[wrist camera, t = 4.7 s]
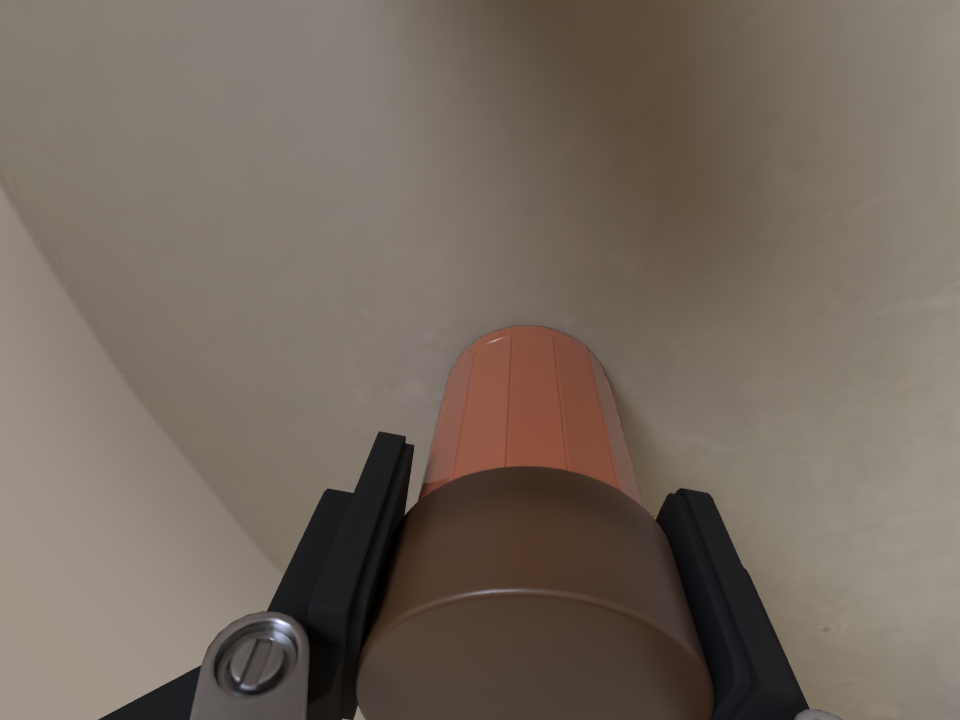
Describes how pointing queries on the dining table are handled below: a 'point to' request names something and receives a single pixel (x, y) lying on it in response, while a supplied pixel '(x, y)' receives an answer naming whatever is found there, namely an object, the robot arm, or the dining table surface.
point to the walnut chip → (531, 608)
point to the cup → (529, 412)
